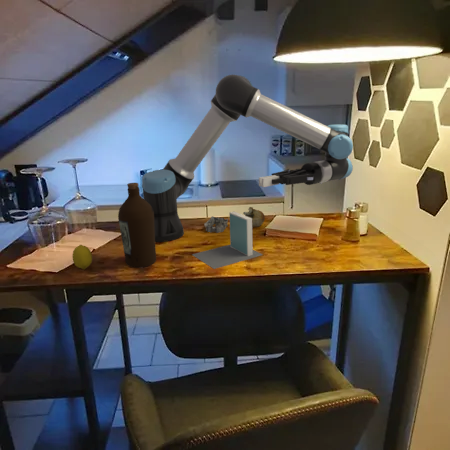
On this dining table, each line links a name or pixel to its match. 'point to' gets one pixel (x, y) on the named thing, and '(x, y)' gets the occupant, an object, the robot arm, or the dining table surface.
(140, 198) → the olive oil
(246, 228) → the tile
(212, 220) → the egg carton
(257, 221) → the onion
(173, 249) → the dining table surface
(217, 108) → the robot arm
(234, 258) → the mat
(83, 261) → the lemon
